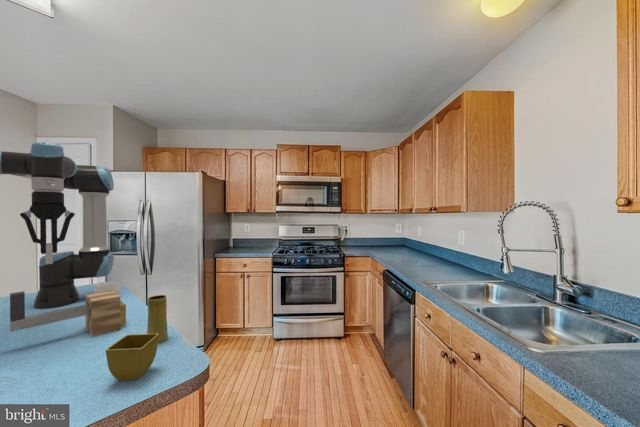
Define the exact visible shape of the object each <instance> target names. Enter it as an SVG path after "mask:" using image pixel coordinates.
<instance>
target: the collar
mask: <svg viewBox="0 0 640 427" xmlns="http://www.w3.org/2000/svg"><path fill="white" fill-rule="evenodd" d="M126 308H127V305H126V303H124V302H123V301H122V300H120V316H121V328H122V327H126V326H127V310H126Z"/></svg>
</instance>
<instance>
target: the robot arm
mask: <svg viewBox="0 0 640 427" xmlns="http://www.w3.org/2000/svg"><path fill="white" fill-rule="evenodd" d="M112 174H113V173H112V172H111V170H110V168H108V167H106V166H100V165H85V164H84V165H83V164H82V165H81V164H80V165H79V164H77V163H76V162H75V161H74V160H73V159H72V158H70V157H68V156H65V153H64V147H63V146H62V145H60V144H56V143H50V142H33V143H32V144H31V147H30V152H29V153H26V152H14V151H4V150H3V151H2V150H0V175H12V176H16V177H21V178H25V179H30V181H31V190H32V192H31V205H30V207H29V209H28V210H27V211H25V212H21V213H20V214H19V216H20V217H21V218H22V219H23V220H24V222H25V224H26V227H27V230H28V232H29V235H30V238H31V241H32V242H33V243H36V244H39V245H40V253H41V254H42V255H43V256H41V257H40V258H39V266H38V270H39V271H38V275H39V277H38V278H39V280H38V281H39V283H38V284H39V289H38V292H37V294H36V296H35V299H34V301H33V308H36V309H51V308H58V307H63V306H68V305H70V304H71V305H72V304H73V303H76V302H78V301H79V300H80V293H79V292H78V289H77V288H76V285H75V280H76V279H77V280H79V279H89V278H90V279H92V278H95V279H96V278H97V279H98V278H103V277H107V276H109V275H110V273H111V272H112V269H113V266H114V260H115V255H114V252H112V251H110V247H108V246H107V244H106V237H107V235H106V233H107V232H106V229H107V228H106V225H107V224H106V210H107V209H106V203H107V202H106V197H108V196H109V195H110V191H113V190H114V187H115V185H114V184H115V183H114V177H113V175H112ZM65 189H66V190H78V195H80V196H81V197H82V247H81V248H80V249H79V250H78V253H75V252H74V251H71V250H70V251H69V250H68V251H62V252H58V243H60V242H63V241H65V240H66V237H67V232H68V229H69V227H70V223H71V220H72V219H73V217H74V216H75V214H76V213H75V212H72V211H69V210H67V208H66V206H65V193H63V191H64V190H65ZM32 214H33V215H34V217H36V218H37V219H38V220H39V223H40V224H39V230H40V231H39V233H40V234H39V238H38V236H37V233H36V231H35V228H34V225H33V223H32V219H31V217H32ZM63 214H64V217H65V218H64V221H63V224H62V227H61V232H60V234H59V236H58V219H59V218H60V217H62V215H63ZM47 220H50V226H51V227H50V232H51V233H50V234H51V237H50V238H51V242H48V243H47Z"/></svg>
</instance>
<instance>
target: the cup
mask: <svg viewBox="0 0 640 427" xmlns="http://www.w3.org/2000/svg"><path fill="white" fill-rule="evenodd" d="M93 287H94V289H93V293H98V292H103V291H109V290H113V291H114V292H116V293H117V294H118V295H119V296H120V297H121V291H122V287H121V281H120V280H119V281H118V280H110V281H109V280H108V281H103V282H99V283H96V284H94V286H93Z"/></svg>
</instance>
